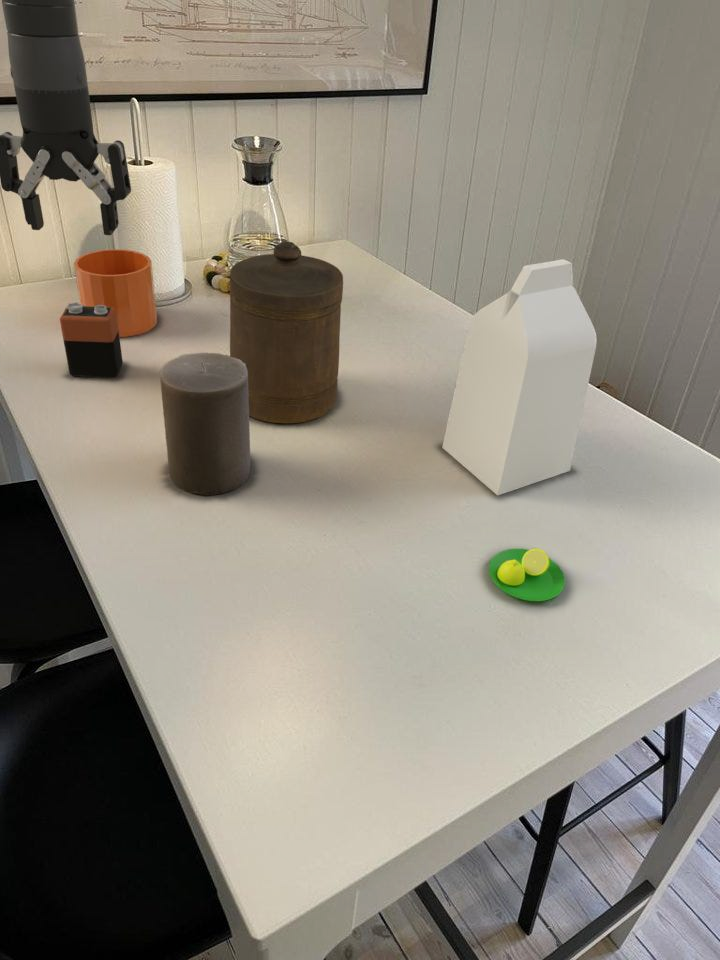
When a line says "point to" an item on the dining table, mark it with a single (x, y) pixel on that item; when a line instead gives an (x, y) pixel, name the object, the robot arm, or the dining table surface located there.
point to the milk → (523, 381)
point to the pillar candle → (206, 422)
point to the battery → (91, 340)
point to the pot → (119, 287)
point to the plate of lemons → (527, 574)
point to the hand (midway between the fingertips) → (73, 230)
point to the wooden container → (287, 333)
